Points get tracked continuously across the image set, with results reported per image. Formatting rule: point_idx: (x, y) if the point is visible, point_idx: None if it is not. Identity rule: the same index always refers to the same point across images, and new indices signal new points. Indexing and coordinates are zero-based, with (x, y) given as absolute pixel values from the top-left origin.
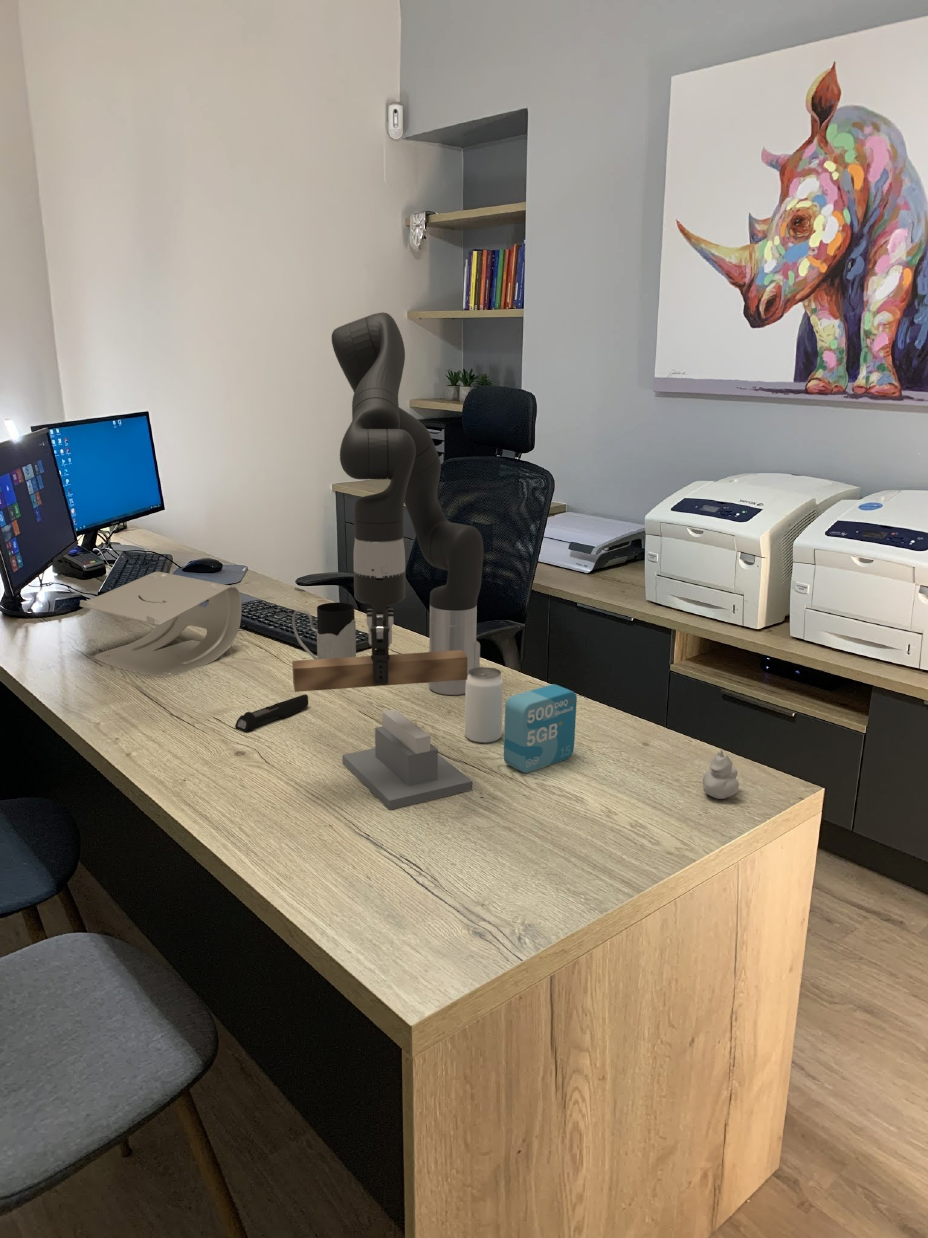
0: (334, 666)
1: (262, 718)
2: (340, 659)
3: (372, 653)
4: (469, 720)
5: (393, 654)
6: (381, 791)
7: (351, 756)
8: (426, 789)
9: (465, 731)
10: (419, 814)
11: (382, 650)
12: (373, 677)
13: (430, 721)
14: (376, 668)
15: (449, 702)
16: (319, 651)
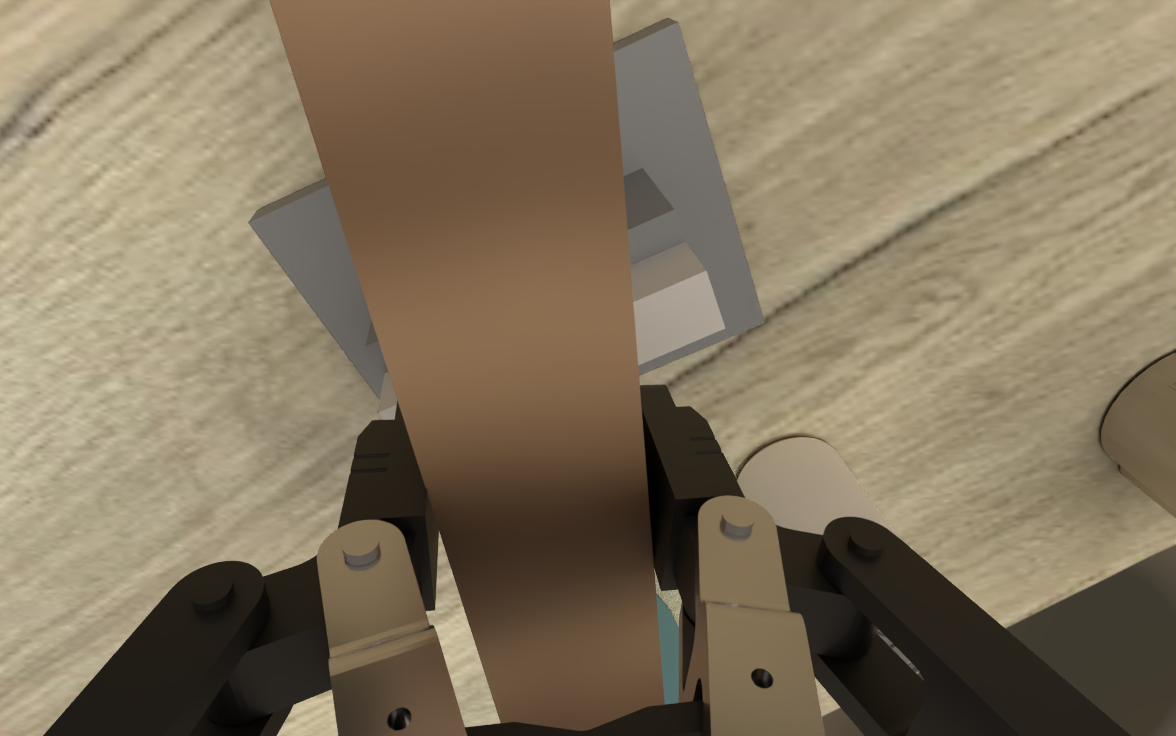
0: (314, 121)
1: None
2: (560, 187)
3: (109, 664)
4: (790, 488)
5: (653, 594)
6: (323, 192)
7: (655, 65)
8: (356, 343)
9: (795, 448)
10: (243, 305)
11: (678, 557)
12: (395, 419)
13: (945, 342)
14: (346, 504)
15: (1064, 396)
16: None
